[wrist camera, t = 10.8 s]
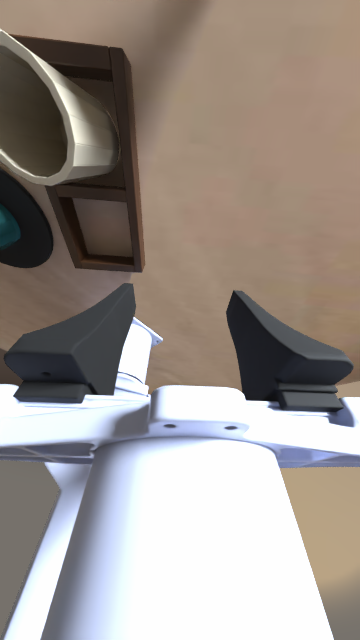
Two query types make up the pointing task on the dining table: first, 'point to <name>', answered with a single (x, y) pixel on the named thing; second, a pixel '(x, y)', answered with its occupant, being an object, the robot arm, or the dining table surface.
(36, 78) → the cream cup
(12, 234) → the teal cup
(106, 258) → the holder
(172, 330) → the dining table surface
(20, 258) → the coaster
